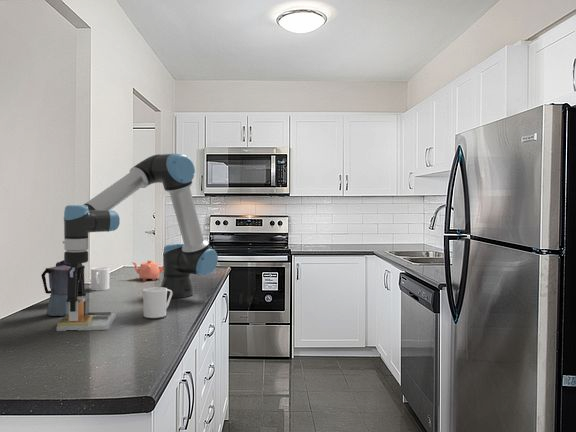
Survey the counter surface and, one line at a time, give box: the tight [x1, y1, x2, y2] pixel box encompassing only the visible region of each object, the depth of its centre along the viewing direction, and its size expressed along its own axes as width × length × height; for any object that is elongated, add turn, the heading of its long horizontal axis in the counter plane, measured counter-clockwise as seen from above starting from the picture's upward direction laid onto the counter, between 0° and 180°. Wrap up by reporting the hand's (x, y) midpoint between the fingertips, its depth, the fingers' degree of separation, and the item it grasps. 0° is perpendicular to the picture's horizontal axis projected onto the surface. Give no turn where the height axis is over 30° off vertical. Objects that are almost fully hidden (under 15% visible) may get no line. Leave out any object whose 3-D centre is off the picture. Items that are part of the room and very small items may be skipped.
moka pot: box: [41, 260, 70, 317], centre depth 189 cm, size 10×15×20 cm, turn 161°
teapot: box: [130, 260, 163, 282], centre depth 267 cm, size 14×12×10 cm
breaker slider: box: [83, 298, 89, 315], centre depth 181 cm, size 4×4×6 cm
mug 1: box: [90, 266, 110, 292], centre depth 237 cm, size 8×12×10 cm, turn 7°
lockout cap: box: [69, 299, 84, 322], centre depth 173 cm, size 5×5×8 cm
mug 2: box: [142, 286, 172, 320], centre depth 189 cm, size 11×9×10 cm
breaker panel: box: [56, 311, 117, 332], centre depth 177 cm, size 16×17×3 cm
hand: (76, 317), depth 173 cm, fingers open, 7 cm apart
